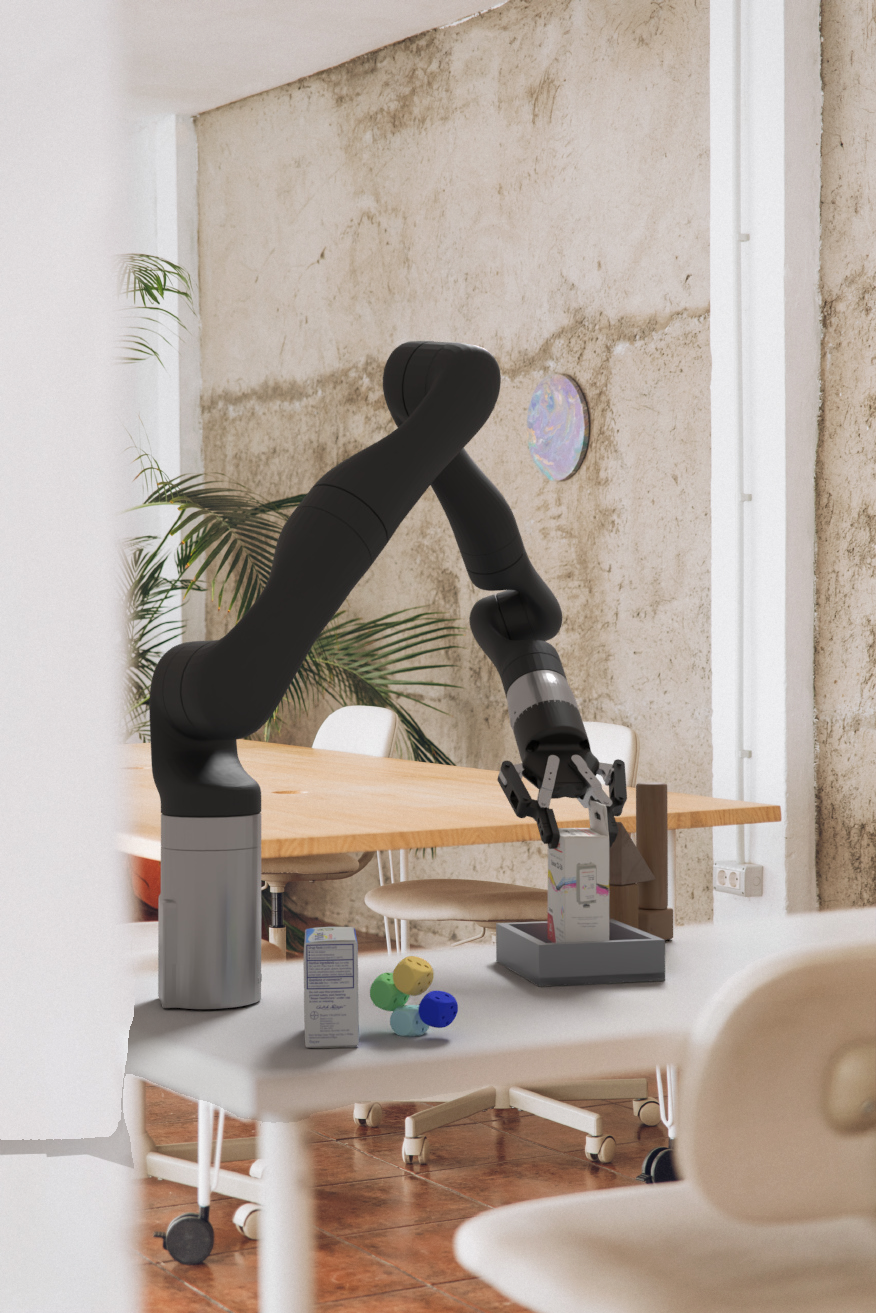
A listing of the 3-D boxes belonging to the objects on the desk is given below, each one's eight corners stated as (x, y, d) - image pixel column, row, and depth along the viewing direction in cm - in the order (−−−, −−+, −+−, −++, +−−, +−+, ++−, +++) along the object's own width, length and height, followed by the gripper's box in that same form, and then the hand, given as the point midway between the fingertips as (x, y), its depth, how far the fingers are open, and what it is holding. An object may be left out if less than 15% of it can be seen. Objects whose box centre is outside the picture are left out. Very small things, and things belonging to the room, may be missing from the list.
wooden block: (594, 947, 178) (594, 785, 178) (647, 936, 186) (647, 781, 186) (622, 951, 175) (621, 787, 176) (674, 939, 183) (674, 782, 184)
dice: (461, 1036, 132) (461, 959, 132) (442, 1042, 130) (442, 963, 130) (385, 1025, 137) (385, 950, 137) (366, 1030, 135) (366, 954, 135)
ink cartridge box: (544, 939, 167) (545, 798, 168) (590, 938, 168) (591, 798, 168) (562, 953, 159) (563, 804, 159) (611, 952, 159) (611, 804, 160)
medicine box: (359, 1048, 128) (359, 940, 128) (303, 1049, 128) (303, 940, 128) (356, 1027, 136) (356, 925, 136) (303, 1028, 135) (303, 926, 136)
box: (539, 986, 154) (538, 945, 154) (496, 961, 169) (496, 923, 169) (665, 980, 157) (664, 939, 158) (612, 955, 172) (612, 918, 172)
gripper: (489, 697, 169) (522, 820, 157) (617, 697, 173) (659, 817, 161) (476, 746, 174) (507, 868, 163) (600, 744, 178) (640, 864, 166)
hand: (582, 842), depth 162 cm, fingers closed on ink cartridge box, 5 cm apart
